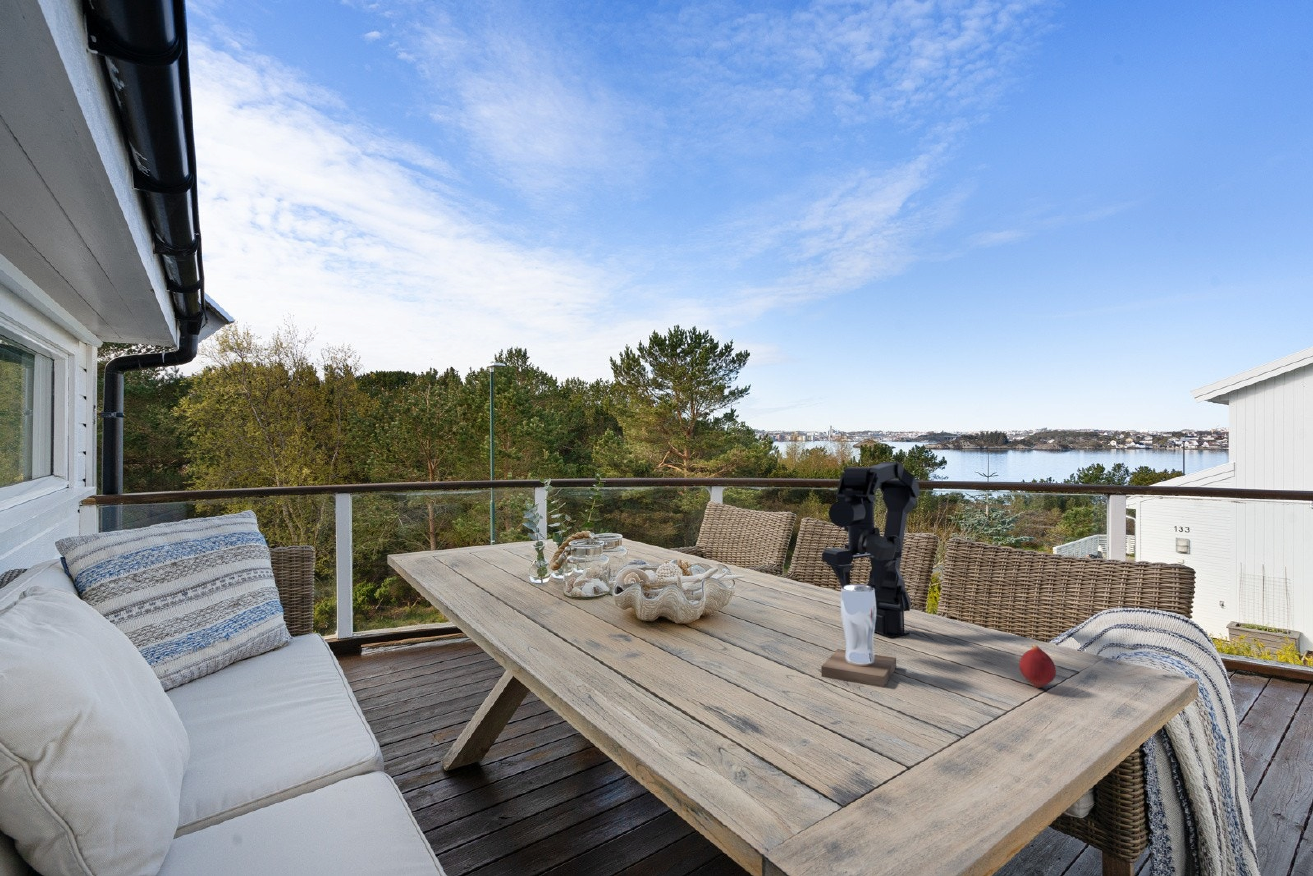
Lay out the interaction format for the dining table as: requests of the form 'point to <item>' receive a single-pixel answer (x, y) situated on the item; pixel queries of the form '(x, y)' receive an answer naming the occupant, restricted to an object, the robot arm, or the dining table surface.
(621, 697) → the dining table surface
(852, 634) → the beer glass
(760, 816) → the dining table surface
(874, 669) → the walnut board
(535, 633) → the dining table surface
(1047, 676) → the onion
